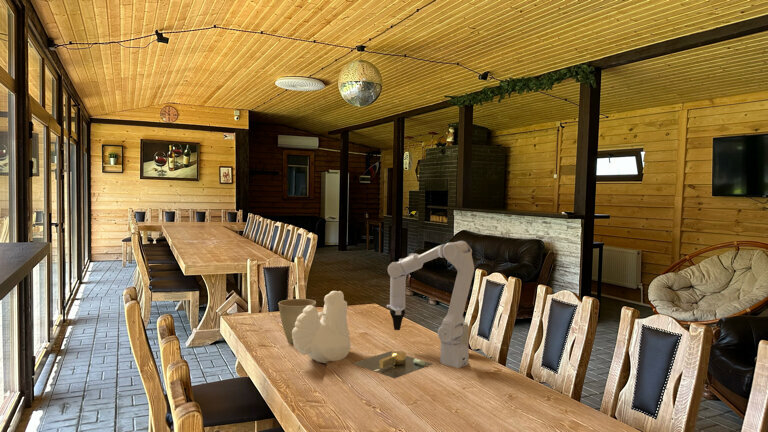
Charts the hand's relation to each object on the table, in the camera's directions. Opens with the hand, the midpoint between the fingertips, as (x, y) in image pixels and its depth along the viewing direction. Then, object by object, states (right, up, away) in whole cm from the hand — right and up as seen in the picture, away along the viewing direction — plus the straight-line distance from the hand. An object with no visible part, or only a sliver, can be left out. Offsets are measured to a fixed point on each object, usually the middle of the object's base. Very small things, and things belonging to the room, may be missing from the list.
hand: (397, 329), depth 193 cm
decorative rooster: (-28, -10, -9) cm, 31 cm away
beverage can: (+24, -10, +2) cm, 26 cm away
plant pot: (-40, -8, +15) cm, 44 cm away
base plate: (-2, -10, -14) cm, 18 cm away
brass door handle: (-2, -8, -17) cm, 19 cm away
